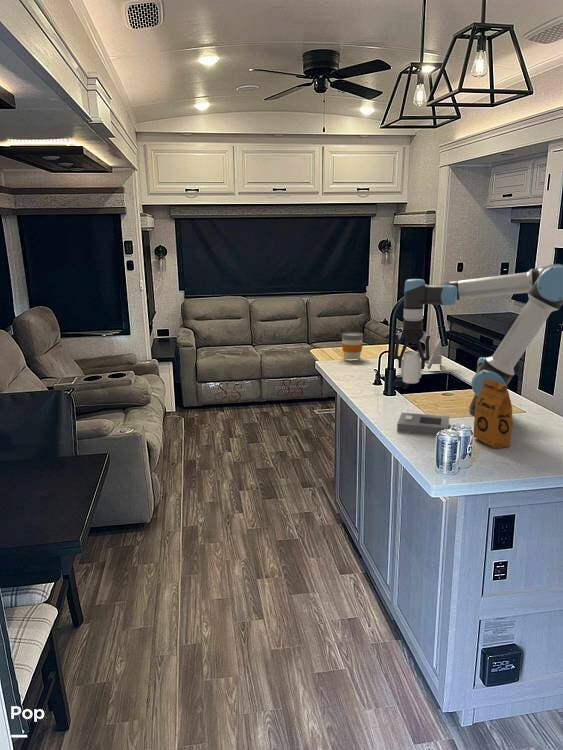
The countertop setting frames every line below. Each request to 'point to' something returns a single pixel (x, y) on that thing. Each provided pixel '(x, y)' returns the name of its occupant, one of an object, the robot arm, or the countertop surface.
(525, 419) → the countertop surface
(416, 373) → the can
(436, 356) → the phone holder
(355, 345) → the reusable coffee cup
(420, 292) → the robot arm
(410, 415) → the socket plate
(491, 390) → the coffee package
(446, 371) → the countertop surface
